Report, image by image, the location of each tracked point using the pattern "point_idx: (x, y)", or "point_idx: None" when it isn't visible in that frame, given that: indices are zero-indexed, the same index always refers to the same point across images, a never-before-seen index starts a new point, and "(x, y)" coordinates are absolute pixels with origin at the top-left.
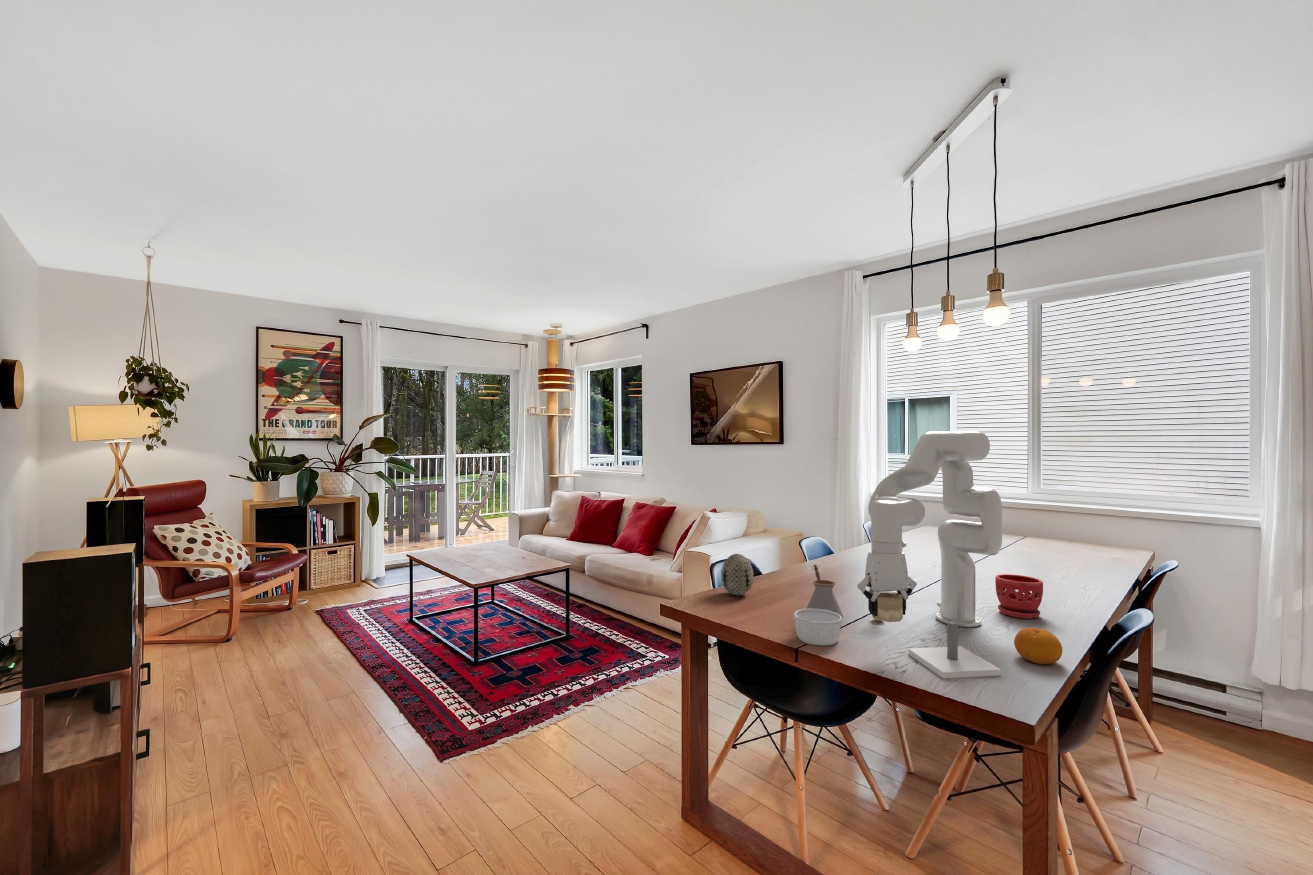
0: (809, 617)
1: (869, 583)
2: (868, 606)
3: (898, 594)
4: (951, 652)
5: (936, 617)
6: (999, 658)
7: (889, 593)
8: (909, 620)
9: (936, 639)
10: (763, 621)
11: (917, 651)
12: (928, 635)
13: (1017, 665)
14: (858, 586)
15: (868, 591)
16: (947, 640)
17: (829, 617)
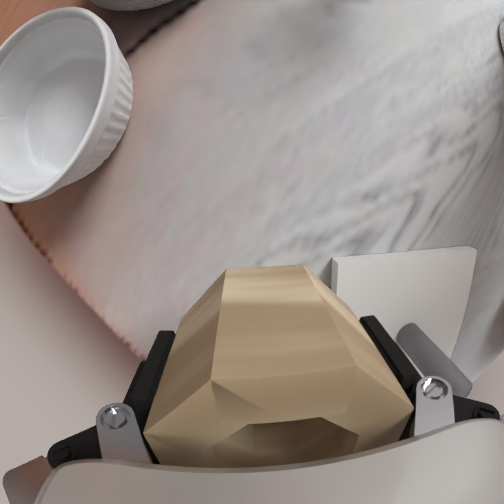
0: (48, 36)
1: (95, 483)
2: (135, 375)
3: (385, 444)
4: (407, 354)
5: (501, 34)
6: (496, 285)
7: (340, 422)
8: (448, 7)
9: (465, 149)
10: (11, 12)
11: (352, 289)
12: (460, 114)
13: (493, 318)
14: (17, 490)
15: (102, 451)
16: (421, 362)
17: (101, 38)
